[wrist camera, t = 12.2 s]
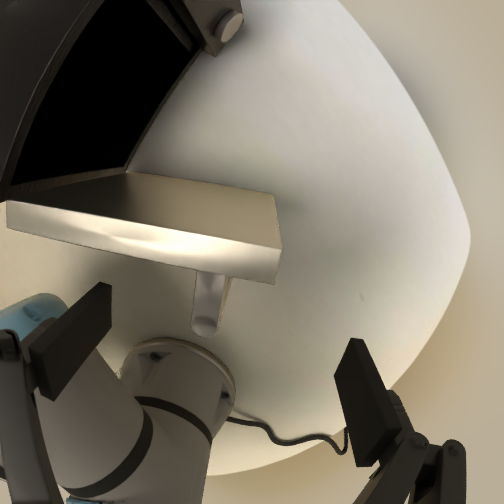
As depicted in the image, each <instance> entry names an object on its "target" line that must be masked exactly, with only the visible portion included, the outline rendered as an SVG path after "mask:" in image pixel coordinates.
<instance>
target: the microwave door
mask: <svg viewBox="0 0 504 504" xmlns="http://www.w3.org/2000/svg"><path fill="white" fill-rule="evenodd" d="M6 214H7V228H9V229H13V230H17V231H21V232H25V233H30V234H34V235H38V236H42V237H46V238H50V239H55V240H59V241H63V242H68V243H72V244H76V245H81V246H85V247H90V248H94V249H99V250H103V251H108V252H112V253H117V254H121V255H126V256H131V257H136V258H140V259H145V260H150V261H155V262H159V263H164V264H169V265H174V266H179V267H184V268H189V269H194V270H197V272H196V281H195V289H194V298H193V307H192V317H191V328H192V330H193V332H194V333H195V334H196V335H198V336H200V337H204V338H209V337H212V336H214V335H215V334H216V333H217V332H218V329H219V325H220V321H221V318H222V314H223V310H224V306H225V303H226V299H227V295H228V292H229V288H230V284H231V281H232V277H236V278H241V279H246V280H252V281H257V282H263V283H268V284H275V282H276V277H277V273H278V268H279V264H280V259H281V255H282V244H281V238H280V232H279V226H278V220H277V214H276V208H275V202H274V196H273V194H268V193H263V192H258V191H252V190H247V189H241V188H235V187H230V186H224V185H218V184H212V183H206V182H199V181H193V180H186V179H180V178H173V177H166V176H158V175H151V174H143V173H135V172H129V173H123V174H118V175H112V176H107V177H101V178H96V179H91V180H86V181H81V182H76V183H72V184H67V185H63V186H58V187H54V188H50V189H46V190H42V191H38V192H34V193H30V194H26V195H22V196H19V197H15V198H11V199H8V200H6Z"/></svg>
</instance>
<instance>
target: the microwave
mask: <svg viewBox="0 0 504 504" xmlns="http://www.w3.org/2000/svg"><path fill="white" fill-rule="evenodd" d="M243 22H244V18H243V12H242V7H241V2H240V0H0V203H1V202H5V201H6V200H8V199H11V198H15V197H19V196H22V195H26V194H30V193H34V192H38V191H42V190H46V189H50V188H54V187H58V186H63V185H67V184H72V183H76V182H81V181H86V180H91V179H96V178H101V177H107V176H112V175H118V174H123V173H124V172H125V170H126V168H127V167H128V165H129V163H130V161H131V159H132V157H133V156H134V154H135V152H136V150H137V148H138V147H139V145H140V143H141V142H142V140H143V138H144V136H145V135H146V133H147V131H148V130H149V128H150V126H151V125H152V123H153V122H154V120H155V118H156V117H157V115H158V114H159V112H160V110H161V109H162V107H163V106H164V104H165V103H166V101H167V100H168V98H169V97H170V95H171V94H172V92H173V91H174V89H175V88H176V86H177V85H178V83H179V82H180V81H181V79H182V78H183V76H184V75H185V73H186V72H187V71H188V69H189V68H190V67H191V65H192V64H193V63H194V61H195V60H196V59H197V57H198V56H199V55H200V53H201V52H202V51H204V52H206V53H208V54H210V55H212V56H214V57H216V55H217V54H218V53H219V51H220V50H221V49H222V48H223V46H224V45H225V44H226V43H227V41H228V40H229V39H230V38H231V37H232V36H233V35H234V34H235V33H236V31H237V30H238V28H239V27H240V26H241V25H242V23H243Z"/></svg>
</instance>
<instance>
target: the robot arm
mask: <svg viewBox="0 0 504 504" xmlns="http://www.w3.org/2000/svg"><path fill="white" fill-rule="evenodd" d="M111 302H112V285H110V284H106V283H103V282H99V283H98V284H97V285H95V286H94V287H93V288H92V289H91V290H90V291H88V292H87V293H86V294H85V295H84V296H83V297H82V298H80V299H79V300H78V301H77V302H76V303H75V304H74V305H72V306H71V307H70V308H69V309H68V308H67V306H66V305H65V303H64V302H63V301H62V300H61V299H60V298H59V297H57V296H55V295H53V294H50V293H40V294H37V295H34V296H31V297H29V298H26V299H24V300H22V301H20V302H17V303H15V304H13V305H11V306H9V307H7V308H5V309H3V310H1V311H0V480H2V481H4V482H7V484H8V488H9V492H10V496H11V501H12V504H64V502H63V499H62V497H61V494H60V491H59V488H58V486H57V484H59V485H60V486H61V487H62V488H64V489H65V490H66V491H67V492H68V493H70V496H69V498H67V499H66V502H67V504H201V503H202V497H203V491H204V485H205V479H206V474H207V468H208V462H209V457H210V450H211V445H212V440H213V438H214V437H215V435H216V434H217V433H218V431H219V430H220V428H221V427H222V425H223V424H224V422H225V421H228V422H233V423H237V424H241V425H247V426H256V427H260V428H263V429H264V430H265V431H266V432H267V434H268V436H269V438H270V439H271V441H272V442H273V443H275V444H277V445H281V446H292V445H296V444H300V443H303V442H307V441H310V440H317V439H319V440H325V441H327V442H329V443H330V444H331V445H332V447H333V448H334V450H335V451H336V453H337V454H339V455H343V454H345V453H346V452H347V449H348V433H349V437H350V441H351V445H352V450H353V454H354V458H355V463H356V466H357V467H372V466H373V464H374V463H375V462H376V461H377V460H379V463H380V466H379V468H378V469H377V470H376V471H375V472H374V473H373V474H372V475H371V476H370V477H369V479H370V480H369V482H368V483H367V485H366V486H365V487H364V489H363V490H362V492H361V493H360V494H359V496H358V497H357V499H356V500H355V502H354V503H353V504H404V502H405V500H406V498H407V497H408V494H409V493H410V496H409V500H408V504H466V451H465V448H464V446H463V445H462V444H461V443H460V442H459V441H456V440H452V439H450V440H447V441H446V442H445V443H444V444H443V445H442V446H439V445H433V444H429V441H428V440H427V438H426V437H425V436H424V435H422V434H421V433H418V432H415V431H414V429H413V426H412V424H411V422H410V420H409V417H408V416H407V413H406V412H405V409H404V407H403V406H402V405H403V404H402V402H401V400H400V398H399V396H398V395H397V394H396V393H395V392H394V391H393V390H386V388H385V386H384V383H383V381H382V379H381V377H380V374H379V372H378V370H377V368H376V366H375V364H374V361H373V359H372V357H371V355H370V353H369V351H368V349H367V346H366V344H365V342H364V340H363V339H357V338H350V341H349V343H348V345H347V348H346V350H345V352H344V354H343V357H342V359H341V361H340V363H339V365H338V367H337V370H336V372H335V374H334V379H335V383H336V386H337V390H338V394H339V398H340V402H341V405H342V409H343V413H344V417H345V421H346V425H347V426H346V427H344V448H343V450H342V451H341V450H340V449H339V447H338V446H337V444H336V443H335V442H334V441H333V440H332V439H331V438H329V437H327V436H323V435H314V436H309V437H305V438H302V439H299V440H295V441H290V442H283V441H279V440H277V439H276V438H275V437H274V435H273V433H272V431H271V429H270V428H269V427H268V426H267V425H265V424H263V423H260V422H255V421H247V420H242V419H237V418H233V417H229V415H230V413H231V410H232V408H233V405H234V400H235V384H234V380H233V378H232V376H231V374H230V372H229V370H228V369H227V368H226V366H225V365H224V364H223V363H222V362H221V361H220V360H219V359H218V358H217V357H215V356H214V355H213V354H211V353H210V352H208V351H207V350H205V349H203V348H201V347H199V346H197V345H195V344H192V343H189V342H186V341H183V340H178V339H171V338H157V339H151V340H147V341H144V342H142V343H140V344H138V345H137V346H135V347H134V348H133V349H132V350H131V351H130V353H129V354H128V356H127V357H126V359H125V361H124V363H123V365H122V367H121V368H122V369H121V368H120V369H121V372H120V380H119V379H118V377H117V376H116V374H117V373H118V372H119V371H120V369H119V370H118V371H117V372H116V373H114V372H113V371H112V369H111V368H110V367H109V366H108V364H107V363H106V361H105V360H104V359H103V357H102V356H101V355H100V353H99V352H98V350H97V349H96V348H95V347H96V346H97V345H98V344H99V342H100V341H101V340H102V339H103V337H104V336H105V335H106V334H107V332H108V331H109V330H110V329H111V327H112V316H111Z"/></svg>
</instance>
